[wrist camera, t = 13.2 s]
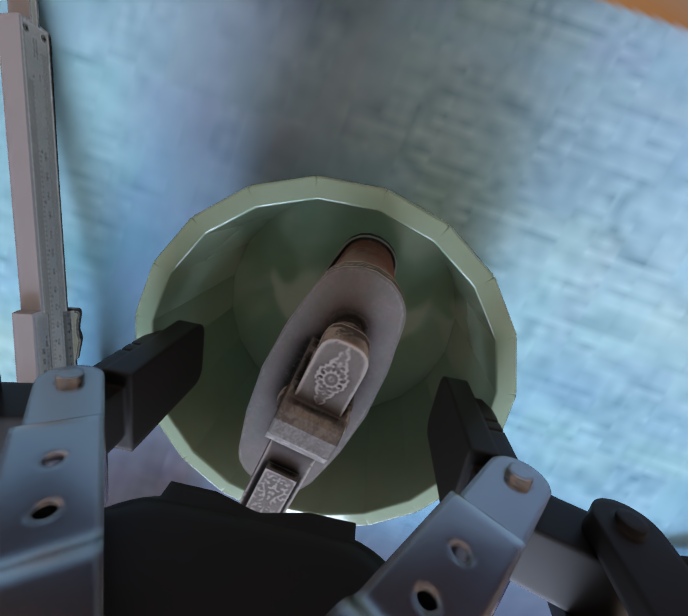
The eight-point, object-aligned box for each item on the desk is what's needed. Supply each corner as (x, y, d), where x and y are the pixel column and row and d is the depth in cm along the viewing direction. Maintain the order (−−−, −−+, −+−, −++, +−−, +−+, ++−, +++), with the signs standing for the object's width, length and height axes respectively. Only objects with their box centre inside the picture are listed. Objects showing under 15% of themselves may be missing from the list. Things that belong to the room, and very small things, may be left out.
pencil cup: (221, 383, 21) (136, 485, 14) (238, 160, 17) (132, 139, 10) (429, 428, 20) (453, 558, 13) (496, 209, 16) (583, 225, 9)
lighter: (346, 219, 16) (295, 261, 7) (413, 252, 16) (453, 339, 7) (279, 361, 19) (175, 533, 9) (337, 389, 19) (292, 586, 10)
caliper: (125, 405, 22) (29, 486, 16) (108, 404, 22) (6, 484, 16) (42, -7, 15) (-171, -128, 10) (19, -7, 16) (-205, -125, 10)
